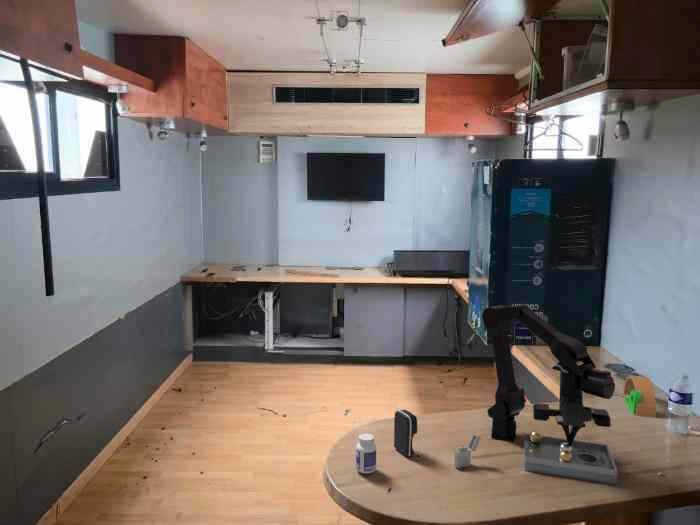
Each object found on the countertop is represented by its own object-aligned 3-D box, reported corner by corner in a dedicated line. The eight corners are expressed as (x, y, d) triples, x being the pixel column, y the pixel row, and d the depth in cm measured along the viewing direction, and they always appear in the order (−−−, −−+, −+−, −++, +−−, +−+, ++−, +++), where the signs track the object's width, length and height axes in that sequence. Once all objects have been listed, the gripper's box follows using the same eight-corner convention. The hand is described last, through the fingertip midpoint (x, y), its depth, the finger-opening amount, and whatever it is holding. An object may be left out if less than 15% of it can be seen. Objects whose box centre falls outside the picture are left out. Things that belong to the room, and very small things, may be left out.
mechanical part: (653, 418, 174) (655, 395, 173) (633, 416, 175) (635, 393, 174) (642, 404, 186) (644, 382, 185) (623, 402, 187) (625, 381, 186)
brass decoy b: (558, 465, 138) (559, 452, 137) (557, 459, 141) (558, 447, 141) (572, 467, 137) (573, 454, 136) (571, 461, 140) (572, 448, 140)
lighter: (457, 468, 140) (458, 439, 139) (453, 465, 142) (455, 436, 141) (479, 463, 143) (481, 435, 142) (476, 460, 145) (477, 432, 144)
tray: (524, 470, 140) (525, 457, 139) (523, 445, 154) (524, 433, 153) (616, 485, 133) (617, 471, 133) (606, 457, 148) (607, 444, 147)
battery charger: (418, 454, 147) (419, 415, 146) (407, 457, 145) (408, 418, 144) (403, 444, 153) (404, 406, 152) (392, 447, 152) (393, 409, 150)
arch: (640, 396, 192) (642, 369, 191) (655, 418, 173) (658, 388, 172) (622, 394, 194) (624, 367, 192) (635, 415, 174) (638, 386, 173)
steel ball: (566, 445, 141) (575, 455, 141) (566, 438, 144) (575, 447, 144) (556, 451, 142) (565, 460, 142) (556, 443, 145) (565, 453, 145)
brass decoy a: (529, 444, 149) (530, 432, 149) (529, 438, 152) (529, 427, 152) (542, 446, 148) (542, 434, 148) (541, 440, 151) (542, 429, 151)
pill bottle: (378, 466, 141) (379, 434, 140) (371, 475, 136) (372, 443, 135) (360, 462, 143) (361, 430, 142) (352, 471, 138) (353, 438, 137)
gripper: (534, 395, 136) (533, 454, 137) (615, 402, 130) (613, 463, 132) (533, 382, 147) (532, 437, 148) (607, 388, 141) (606, 445, 142)
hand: (569, 445), depth 142 cm, fingers closed, pressing on steel ball
